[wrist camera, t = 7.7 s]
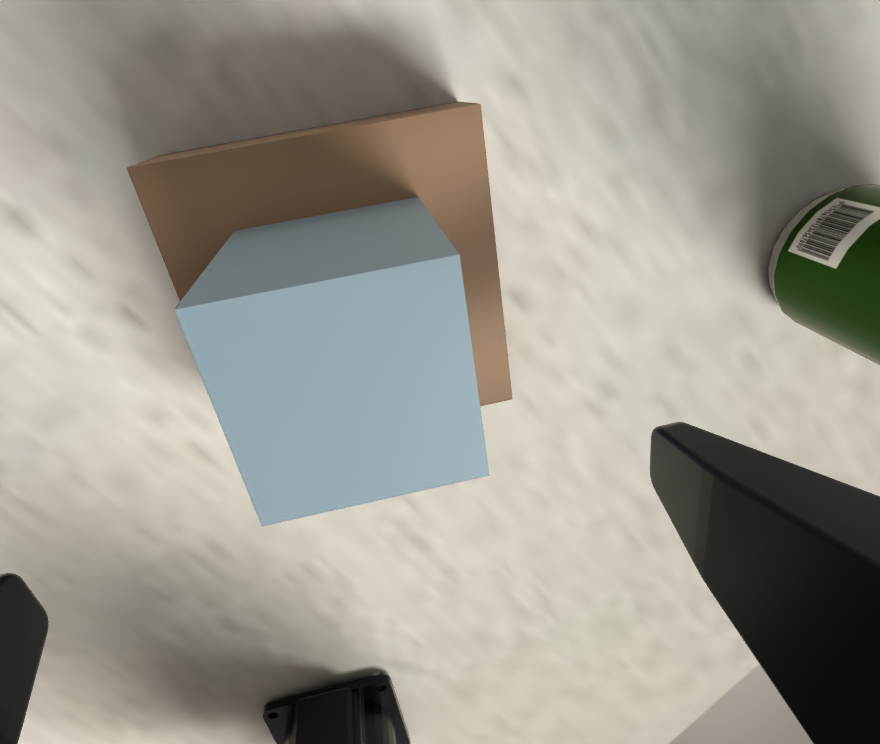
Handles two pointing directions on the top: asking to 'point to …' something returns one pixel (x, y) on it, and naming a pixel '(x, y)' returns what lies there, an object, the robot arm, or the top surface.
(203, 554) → the top surface
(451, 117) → the brown block
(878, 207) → the beer can
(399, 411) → the blue block
